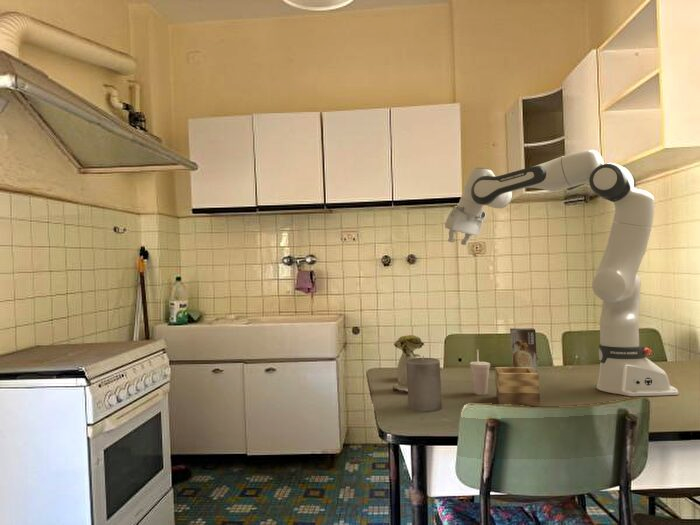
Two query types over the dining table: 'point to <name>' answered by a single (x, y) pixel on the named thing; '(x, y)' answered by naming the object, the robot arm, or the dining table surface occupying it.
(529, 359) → the coffee box
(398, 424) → the dining table surface
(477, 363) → the smoothie
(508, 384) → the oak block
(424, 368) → the pillar candle
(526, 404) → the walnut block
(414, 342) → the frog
